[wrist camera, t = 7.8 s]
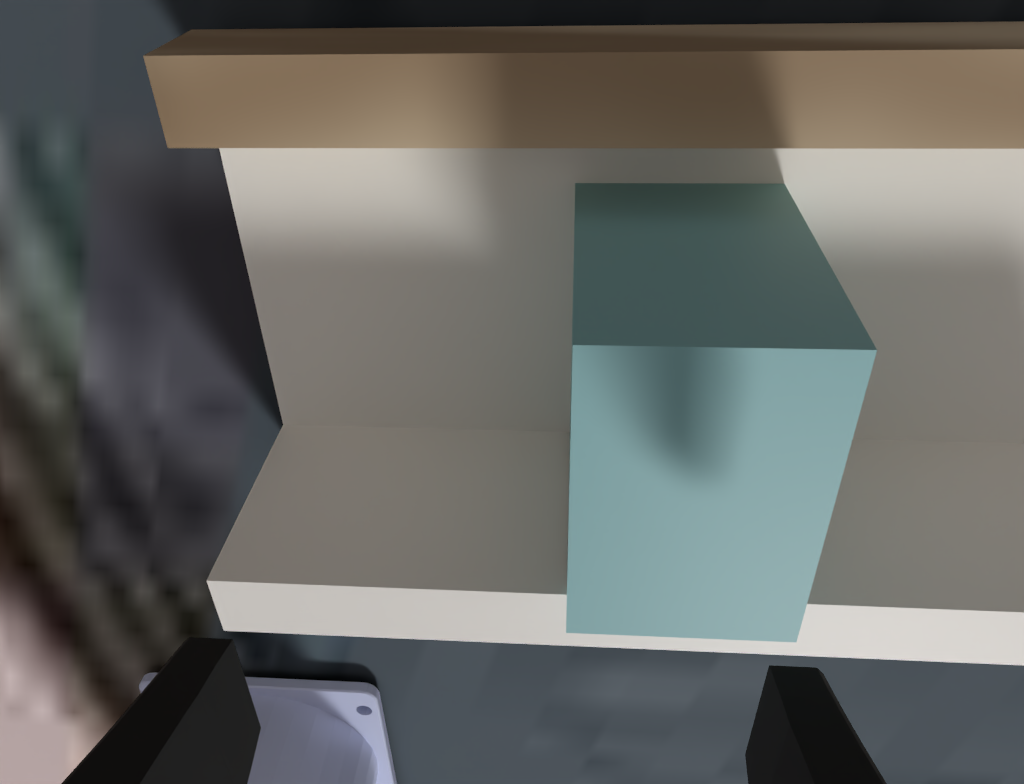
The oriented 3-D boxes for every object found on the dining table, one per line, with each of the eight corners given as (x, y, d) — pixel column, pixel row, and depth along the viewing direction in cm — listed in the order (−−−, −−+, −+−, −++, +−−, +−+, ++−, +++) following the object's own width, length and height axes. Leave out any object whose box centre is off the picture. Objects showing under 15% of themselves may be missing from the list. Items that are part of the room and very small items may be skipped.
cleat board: (1010, 491, 20) (1135, 686, 16) (303, 470, 22) (229, 645, 17) (1221, 12, 14) (1532, 106, 9) (204, 22, 15) (42, 110, 11)
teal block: (741, 430, 19) (796, 642, 14) (570, 426, 19) (566, 632, 14) (784, 183, 16) (877, 350, 11) (575, 183, 16) (572, 344, 11)
